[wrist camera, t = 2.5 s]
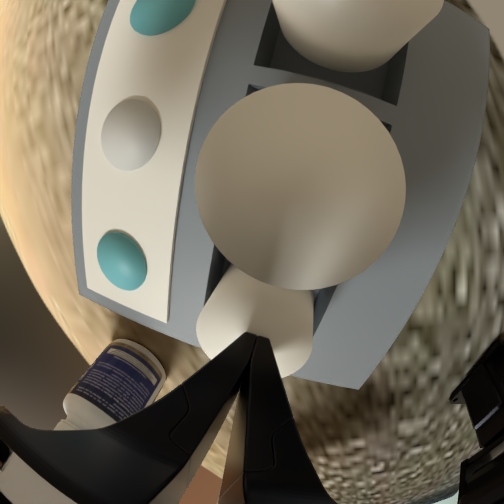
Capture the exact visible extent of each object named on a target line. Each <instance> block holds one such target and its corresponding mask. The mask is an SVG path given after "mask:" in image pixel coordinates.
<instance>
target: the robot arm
mask: <svg viewBox="0 0 504 504" xmlns="http://www.w3.org/2000/svg"><path fill="white" fill-rule="evenodd" d="M241 383H242V384H241ZM240 386H241V387H240ZM239 389H240V390H239ZM238 392H239V394H238ZM237 394H238V398H237V404H236V409H235V415H234V420H233V426H232V431H231V437H230V442H229V448H228V453H227V458H226V464H225V469H224V474H223V479H222V485H221V490H220V495H219V500H218V504H338V503H336V502H335V501H334V500H333V499H332V498H331V497H330V496H329V494H328V493H327V492H326V490H325V488H324V487H323V485H322V483H321V481H320V479H319V477H318V475H317V473H316V471H315V469H314V467H313V465H312V463H311V461H310V459H309V457H308V454H307V452H306V450H305V448H304V446H303V443H302V441H301V438H300V435H299V432H298V430H297V427H296V423H295V420H294V418H293V414H292V411H291V408H290V404H289V401H288V398H287V395H286V391H285V388H284V385H283V382H282V378H281V375H280V372H279V369H278V365H277V362H276V359H275V355H274V352H273V349H272V346H271V342H270V339H269V338H266V337H263V336H257V335H256V334H253V333H250V332H244V333H243V334H242V335H240V336H239V337H238V338H237V339H236V340H235V341H233V342H232V343H231V344H230V345H229V346H227V347H226V348H225V349H224V350H223V351H221V352H220V353H219V354H218V355H217V356H215V357H214V358H213V359H212V360H210V361H209V362H208V363H207V364H205V365H204V366H203V367H202V368H201V369H199V370H198V371H197V372H195V373H194V374H193V375H192V376H190V377H189V378H188V379H187V380H185V381H184V382H183V383H182V385H181V384H180V385H179V386H177V387H176V388H175V389H174V390H172V391H171V392H169V393H168V394H167V395H165V396H164V397H162V398H161V399H159V400H157V401H156V402H154V403H152V404H151V405H149V406H147V407H145V408H143V409H141V410H140V411H138V412H136V413H134V414H132V415H130V416H128V417H126V418H124V419H122V420H120V421H118V422H116V423H113V424H111V425H109V426H106V427H102V428H97V429H86V430H40V429H35V428H31V427H29V426H26V425H25V424H23V423H21V422H20V421H19V420H18V419H17V418H16V417H15V416H14V415H13V414H12V413H11V412H10V411H9V410H8V409H7V408H5V406H0V504H178V503H179V501H180V499H181V498H182V496H183V495H184V493H185V491H186V489H187V488H188V486H189V484H190V482H191V481H192V479H193V477H194V476H195V474H196V472H197V470H198V468H199V467H200V465H201V463H202V461H203V460H204V458H205V456H206V454H207V452H208V450H209V449H210V447H211V445H212V443H213V441H214V439H215V437H216V436H217V434H218V432H219V430H220V428H221V426H222V424H223V422H224V420H225V418H226V416H227V414H228V412H229V410H230V408H231V406H232V405H233V403H234V401H235V399H236V396H237ZM449 400H450V403H451V404H466V407H467V410H468V413H469V416H470V419H471V422H472V426H473V428H474V429H475V431H476V435H477V438H478V442H479V446H480V448H483V449H482V450H481V451H479V452H478V453H476V454H475V455H473V456H472V457H470V458H469V459H466V460H464V461H463V462H461V469H460V484H459V495H458V503H457V504H504V341H497V342H495V343H494V344H493V346H492V347H491V348H490V350H489V351H488V352H487V354H486V355H485V356H484V358H483V359H482V360H481V362H480V363H479V364H478V365H477V367H476V368H475V369H474V370H473V371H472V373H471V374H470V375H469V376H468V377H467V379H466V380H465V381H464V382H463V383H462V384H461V385H460V386H459V388H458V389H457V390H456V391H455V392H454V393H453V394H452V395H451V396H450V397H449Z"/></svg>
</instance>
